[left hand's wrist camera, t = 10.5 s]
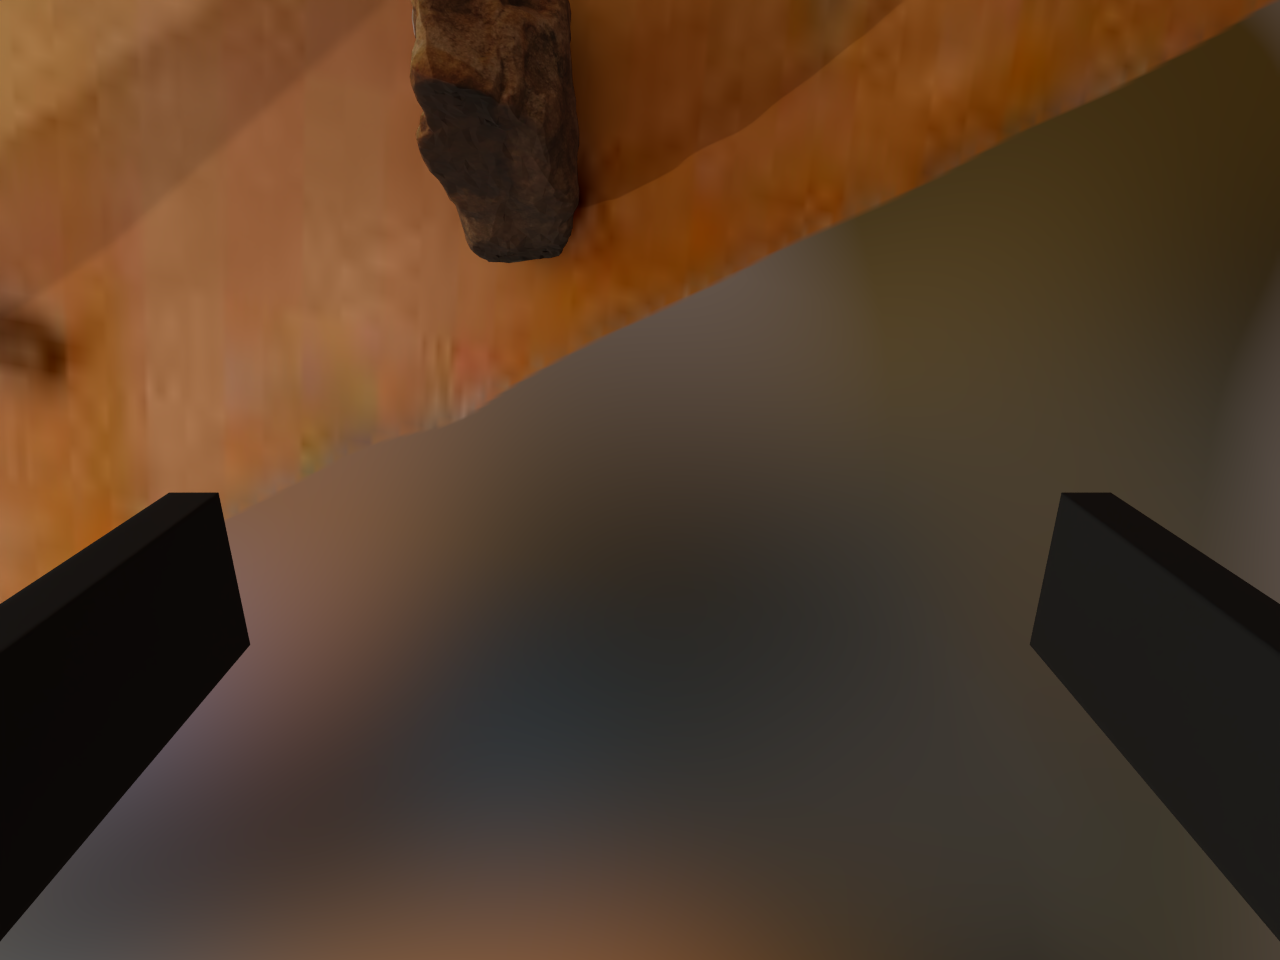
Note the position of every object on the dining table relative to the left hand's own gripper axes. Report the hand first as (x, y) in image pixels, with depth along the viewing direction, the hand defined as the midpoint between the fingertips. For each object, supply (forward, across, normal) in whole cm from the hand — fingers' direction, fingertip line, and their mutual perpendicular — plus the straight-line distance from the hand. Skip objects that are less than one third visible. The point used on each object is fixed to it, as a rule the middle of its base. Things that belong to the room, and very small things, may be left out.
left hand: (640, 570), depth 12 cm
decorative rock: (+29, -6, +8) cm, 30 cm away
